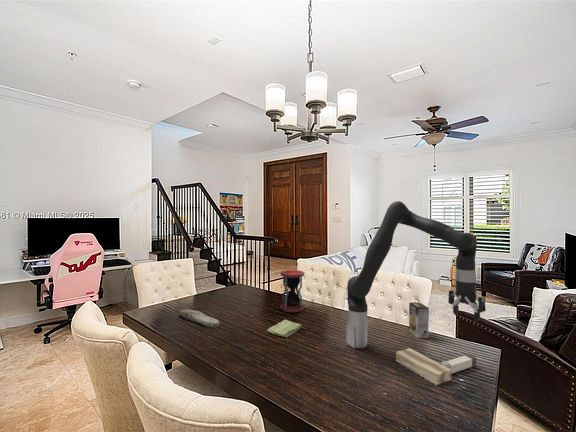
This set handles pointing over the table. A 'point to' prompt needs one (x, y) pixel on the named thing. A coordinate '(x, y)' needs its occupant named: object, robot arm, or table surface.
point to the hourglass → (292, 291)
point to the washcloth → (284, 328)
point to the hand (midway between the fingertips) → (466, 317)
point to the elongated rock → (200, 318)
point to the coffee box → (418, 319)
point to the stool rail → (423, 366)
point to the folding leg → (460, 363)
